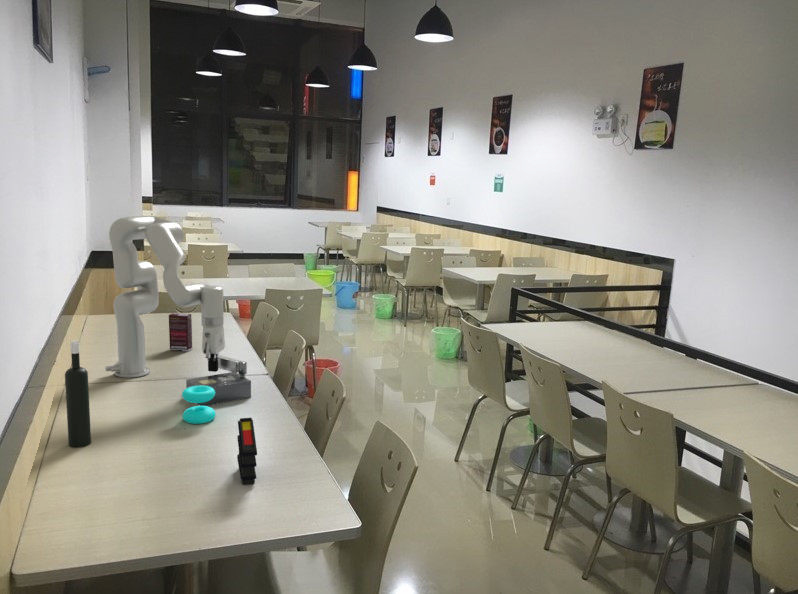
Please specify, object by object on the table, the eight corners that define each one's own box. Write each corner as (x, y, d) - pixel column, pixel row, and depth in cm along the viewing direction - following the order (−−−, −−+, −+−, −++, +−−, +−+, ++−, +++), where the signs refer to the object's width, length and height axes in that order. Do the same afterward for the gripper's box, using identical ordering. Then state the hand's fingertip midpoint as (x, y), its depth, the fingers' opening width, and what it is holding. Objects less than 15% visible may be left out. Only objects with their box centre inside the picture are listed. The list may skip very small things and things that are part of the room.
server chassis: (201, 406, 222) (201, 387, 221) (186, 396, 232) (186, 377, 231) (256, 396, 234) (256, 378, 233) (240, 386, 244) (240, 369, 243)
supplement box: (192, 349, 293) (192, 313, 290) (188, 351, 288) (187, 315, 286) (173, 347, 294) (172, 312, 291) (169, 350, 289) (168, 314, 286)
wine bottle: (66, 448, 186) (61, 343, 180) (70, 440, 191) (65, 338, 186) (89, 446, 187) (84, 343, 182) (92, 439, 193) (87, 338, 187)
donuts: (216, 392, 206) (182, 395, 203) (217, 423, 208) (183, 426, 204) (213, 383, 215) (181, 385, 212) (214, 412, 217) (181, 415, 214)
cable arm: (248, 373, 237) (248, 360, 236) (241, 375, 235) (241, 362, 234) (214, 363, 247) (213, 351, 247) (207, 365, 245) (206, 353, 244)
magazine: (250, 455, 181) (252, 416, 173) (255, 495, 171) (258, 455, 163) (236, 456, 180) (238, 417, 172) (240, 496, 170) (242, 457, 161)
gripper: (214, 326, 229) (215, 377, 232) (230, 317, 243) (230, 365, 247) (193, 324, 229) (194, 376, 233) (210, 316, 244) (211, 364, 247)
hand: (213, 370), depth 240 cm, fingers closed
